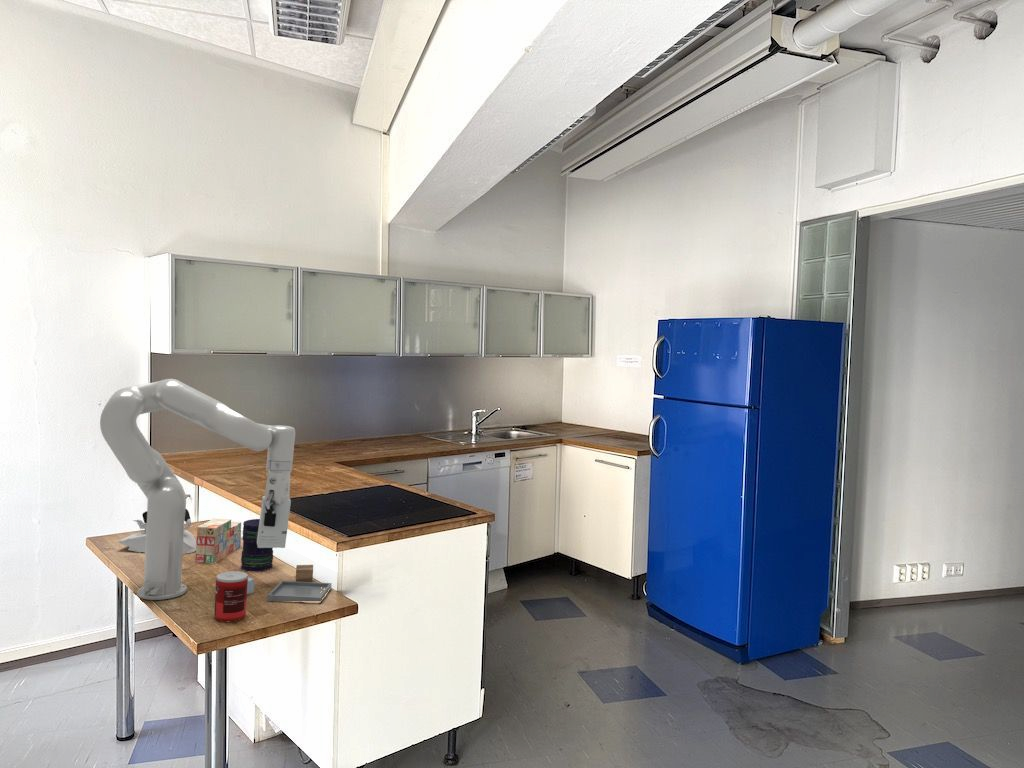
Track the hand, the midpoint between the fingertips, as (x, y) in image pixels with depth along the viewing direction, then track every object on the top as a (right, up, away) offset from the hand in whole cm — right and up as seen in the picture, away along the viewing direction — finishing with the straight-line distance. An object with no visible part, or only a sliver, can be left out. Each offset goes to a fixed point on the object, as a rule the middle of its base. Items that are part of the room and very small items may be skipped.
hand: (273, 523), depth 204 cm
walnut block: (+9, -19, +2) cm, 21 cm away
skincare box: (-1, -7, 0) cm, 7 cm away
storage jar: (-11, -18, +14) cm, 25 cm away
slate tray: (+11, -19, -9) cm, 24 cm away
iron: (-49, -15, +28) cm, 59 cm away
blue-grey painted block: (-7, -18, -8) cm, 21 cm away
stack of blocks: (-28, -17, +26) cm, 42 cm away
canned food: (-1, -19, -28) cm, 34 cm away
